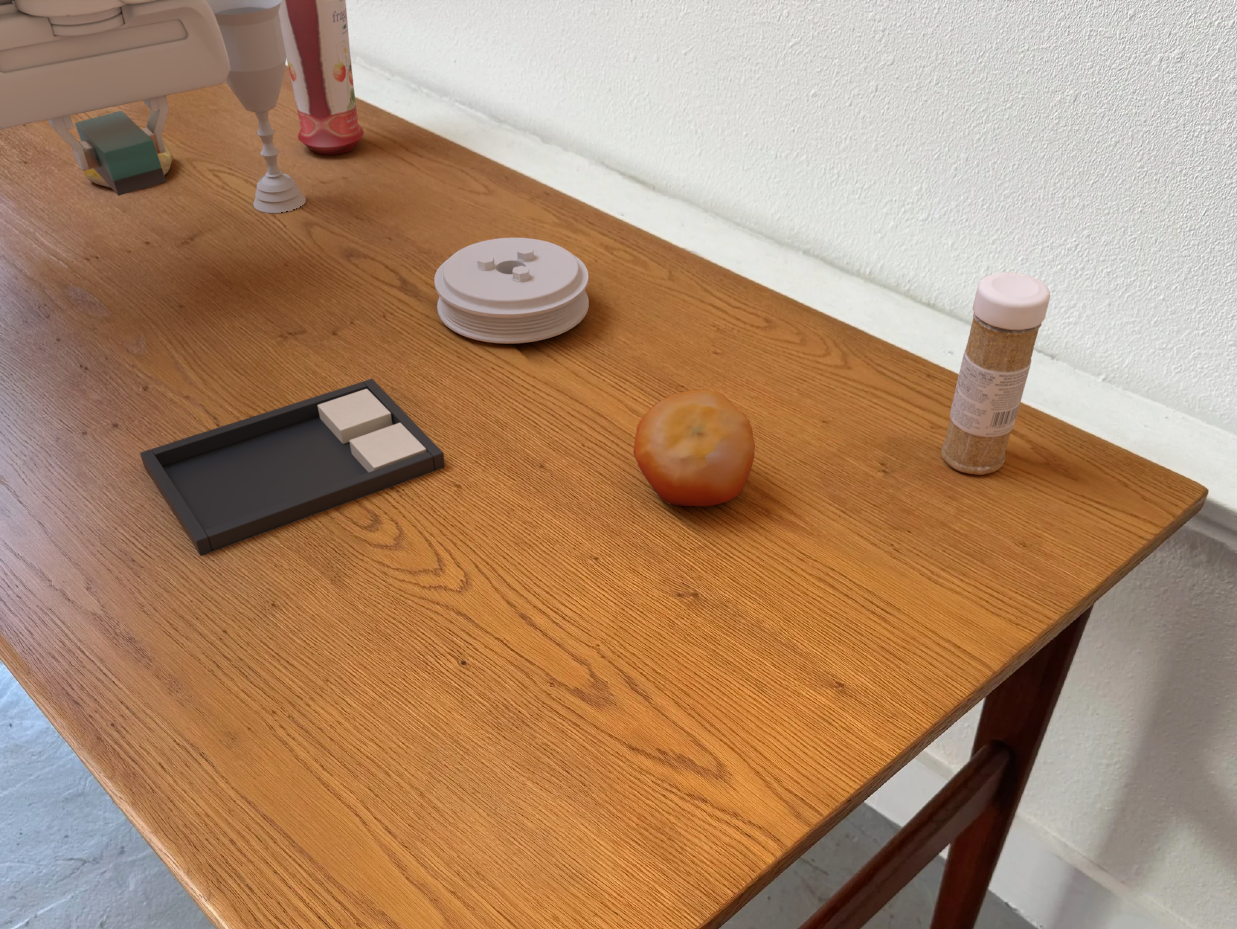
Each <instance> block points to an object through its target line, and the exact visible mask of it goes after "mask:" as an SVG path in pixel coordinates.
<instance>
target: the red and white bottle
mask: <svg viewBox="0 0 1237 929" xmlns="http://www.w3.org/2000/svg"><path fill="white" fill-rule="evenodd" d="M346 1H347V0H282V1H281V4H280V8H279V12H278V13H279V19H280V24H281V30H282V35H283V41H284V47H285V52H286V63H287V68H288V74H289V77H290V81H291V87H292V92H293V96H294V100H295V106H296V110H297V116H298V121H299V126H300V130H299V132H298V134H297V139H298V141H299V142H300V143H302V144H303V145H304V146H306V147H307V148H309V149H310V150H312V151H313V152H314V153H316V154H319V155H325V156H334V155H342V154H345V153H348V152H350V151H352V150H353V149H354V148H355V147H356V145H357V144H358V143H359V141H360V140H361V139H362V138H363V136H364V134H365V130H364V129H363V128H362V126H361V125H360V124H359V118H358V117H359V116H358V110H357V101H356V94H355V85H354V76H353V68H352V58H351V57H352V56H351V51H350V49H351V47H350V37H349V25H348V11H347V2H346Z"/></svg>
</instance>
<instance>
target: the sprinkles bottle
mask: <svg viewBox="0 0 1237 929" xmlns="http://www.w3.org/2000/svg"><path fill="white" fill-rule="evenodd" d="M1050 299H1051V291H1050V289H1049V287H1048V286H1047V285H1046V283H1044V282H1042V281H1041V280H1039V279H1038V278H1036V277H1033V276H1031V275H1029V274H1028V275H1027V274H1024V273H1018V272H996V273H992V274H989V275H987V276H985V277H983V278H982V279H981V280H980V281H979V283H978V284H977V288H976V291H975V296H974V299H973V304H972V311H973V314H972V322H971V326H970V330H969V335H968V339H967V342H966V346H965V349H964V352H963V355H962V360H961V364H960V369H959V373H958V377H957V381H956V386H955V390H954V395H953V399H952V404H951V408H950V412H949V417H950V418H949V421H948V425H947V429H946V434H945V438H944V441H943V443H942V445H941V449H940V450H941V452H940V454H941V458H942V459H943V460H944V462H945V463H946V464H948V466H950V467H951V468H952V469H954V470H956V471H959V472H961V473H966V474H968V475H976V476H977V475H978V476H982V475H987V474H992V473H994V472H997V471H998V470H1000V469H1001V468H1002V467H1003V465H1004V463H1005V461H1006V450H1007V448H1008V444H1009V440H1010V436H1011V432H1012V430H1013V428H1014V427H1015V423H1016V421H1017V420H1016V419H1017V416H1018V413H1019V409H1020V405H1021V402H1022V398H1023V394H1024V390H1025V387H1026V384H1027V380H1028V376H1029V372H1030V369H1031V365H1032V356H1033V353H1034V349H1035V344H1036V341H1037V337H1038V335H1039V334H1038V333H1039V330H1040V328H1041V327H1042V324H1043V322H1044V321H1045V319H1046V315H1047V312H1048V308H1049V304H1050Z"/></svg>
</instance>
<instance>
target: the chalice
mask: <svg viewBox="0 0 1237 929" xmlns="http://www.w3.org/2000/svg"><path fill="white" fill-rule="evenodd" d="M205 1H206V2H207V3H208V4H209V6H210V7H211V9H212V11H213V13H214V15H215V18H216V20H217V23H218V26H219V28H220V31H221V34H222V37H223V41H224V44H225V47H226V51H227V55H228V59H229V64H230V72H229V74H228V77H227V79H226V81H225V83H226V84H227V86H228V87H229V88H230V90H231V91H232V92H233V94H234V95H235V97H236V98H237V99H238V101H239V103H240V104H241V105H242V106H243V108H244V109H245V110H246V111H248V112H251V113H254V114H255V116H256V119H257V120H258V129H257V132H256V135H258V137H259V138H260V140H261V142H262V150H261V151H260V153H259V155H260V156H261V157H263V158H264V160H265V162H266V168H267V170H266V173H265V174H264V175H263V176H261V177H260V179H259V180H258V182H257V183H256V190H255V192H254V196H255V198H254V199H253V204H252V206H253V208H254V210H257V211H258V212H261V213H265V214H282V213H281V212H283V213H287V212H286V211H288V212H292V211H294V210H293V209H295V210H297V209H299V208H301V207H303V206H304V204H306V203H307V202H306V201H307V198H306V197H305V195H304V194H303V193H302V192H301V189H300V187H299V186H298V185H297V184H296V180H295V179H294V178H293V177H291V175H289V174H287V173H283V171H282V170H280V167H279V165H278V155H279V154H280V150H279V149H278V148H277V147H276V146H275V144H274V142H273V141H274V134H275V132H276V131H275V130H274V129H273V127H272V126H271V123H270V120H269V111H271V110H273V109H275V108H276V107H277V104H278V100H279V97H280V93H281V89H282V85H283V81H284V77H285V71H286V70H285V69H286V63H287V59H286V52H285V47H284V41H283V35H282V30H281V24H280V19H279V13H278V12H279V8H280V4H281V1H282V0H205ZM302 205H303V206H302ZM300 206H301V207H300ZM296 208H297V209H296Z"/></svg>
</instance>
